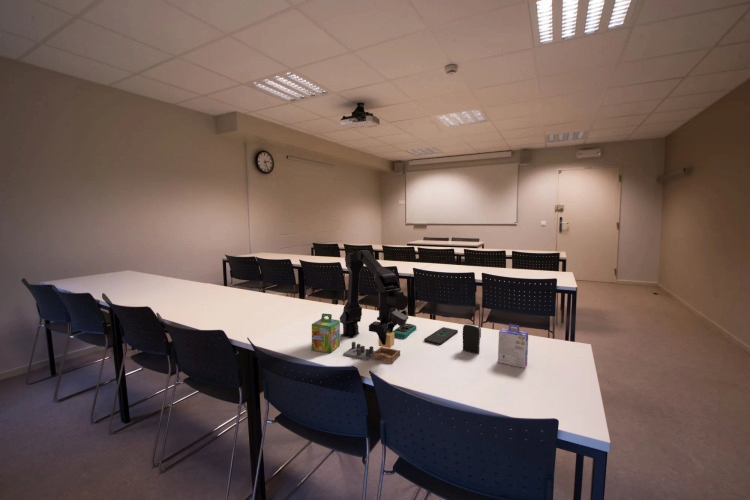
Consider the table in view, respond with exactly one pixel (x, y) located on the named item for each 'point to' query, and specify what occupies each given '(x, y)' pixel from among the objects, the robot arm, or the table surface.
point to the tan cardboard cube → (388, 340)
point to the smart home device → (441, 336)
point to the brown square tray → (386, 354)
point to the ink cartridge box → (513, 346)
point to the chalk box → (326, 334)
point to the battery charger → (471, 338)
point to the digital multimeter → (404, 331)
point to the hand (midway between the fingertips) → (386, 342)
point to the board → (359, 352)
